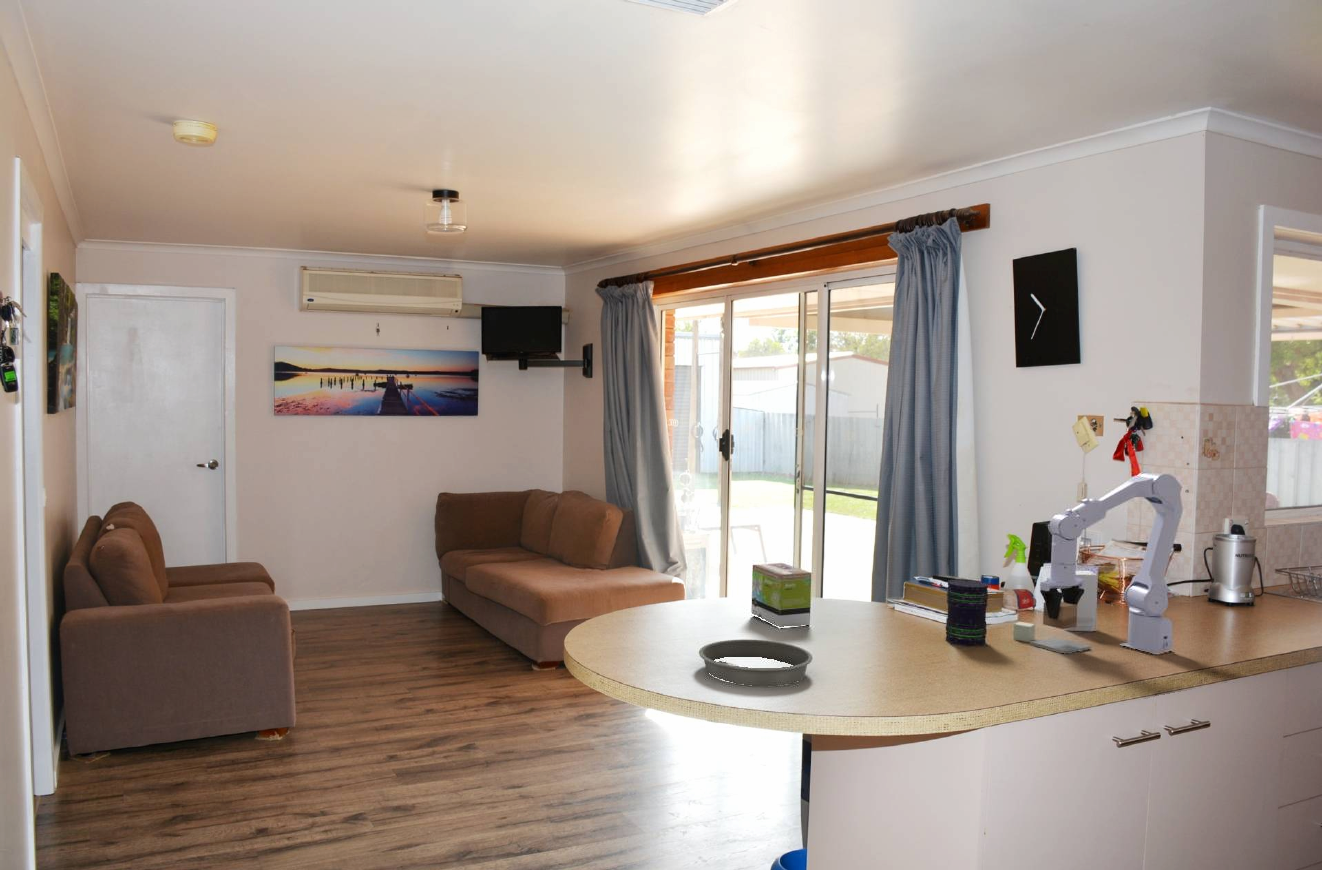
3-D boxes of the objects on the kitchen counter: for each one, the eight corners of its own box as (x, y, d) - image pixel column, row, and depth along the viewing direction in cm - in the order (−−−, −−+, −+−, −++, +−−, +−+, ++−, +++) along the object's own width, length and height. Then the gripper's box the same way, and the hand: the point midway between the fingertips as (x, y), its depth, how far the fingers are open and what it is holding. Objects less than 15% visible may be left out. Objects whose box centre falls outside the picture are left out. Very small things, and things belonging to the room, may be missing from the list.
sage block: (1034, 639, 244) (1035, 624, 243) (1029, 642, 240) (1029, 626, 240) (1018, 636, 246) (1019, 621, 246) (1013, 639, 243) (1014, 624, 243)
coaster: (1090, 649, 234) (1090, 646, 234) (1064, 654, 229) (1064, 651, 229) (1055, 640, 243) (1055, 637, 243) (1029, 644, 238) (1029, 641, 238)
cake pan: (740, 652, 223) (740, 633, 223) (832, 673, 208) (833, 653, 208) (675, 673, 204) (676, 652, 204) (771, 698, 189) (772, 676, 189)
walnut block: (1076, 627, 235) (1077, 604, 235) (1062, 629, 232) (1063, 606, 232) (1057, 622, 240) (1057, 600, 240) (1043, 624, 237) (1043, 602, 237)
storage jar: (988, 648, 233) (991, 587, 232) (947, 645, 235) (949, 585, 234) (983, 638, 243) (985, 580, 242) (943, 635, 244) (945, 578, 244)
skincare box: (1088, 627, 259) (1090, 570, 259) (1097, 632, 253) (1099, 574, 252) (1056, 625, 260) (1059, 569, 260) (1064, 631, 254) (1067, 573, 253)
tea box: (749, 617, 260) (751, 563, 259) (780, 614, 264) (782, 561, 263) (778, 629, 246) (780, 573, 246) (811, 627, 250) (813, 571, 250)
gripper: (1067, 558, 242) (1065, 611, 243) (1030, 562, 235) (1028, 616, 235) (1092, 563, 236) (1090, 617, 237) (1055, 566, 229) (1052, 622, 229)
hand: (1061, 617), depth 236 cm, fingers closed on walnut block, 5 cm apart
